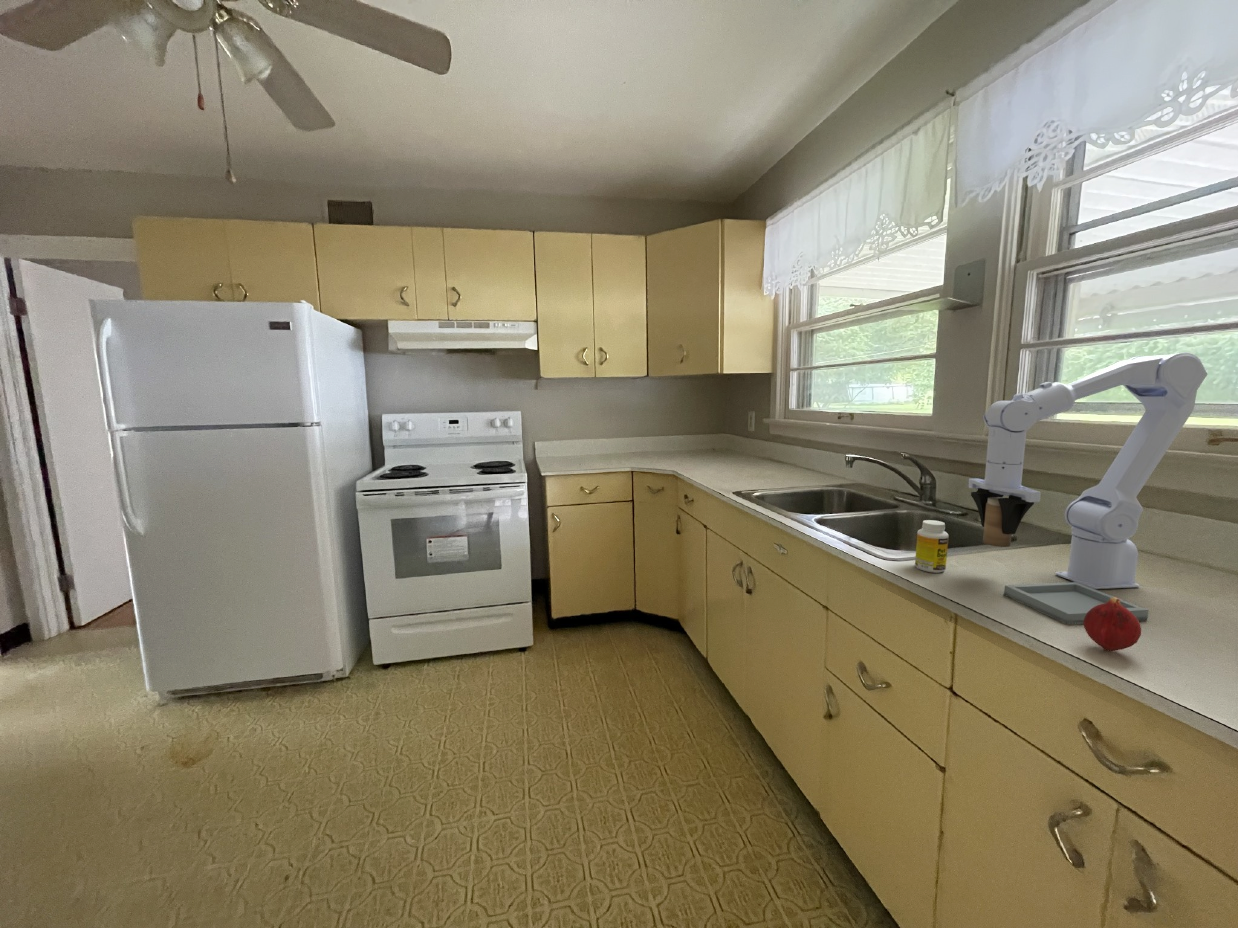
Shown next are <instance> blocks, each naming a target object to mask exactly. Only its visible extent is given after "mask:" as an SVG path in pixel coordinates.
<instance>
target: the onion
mask: <svg viewBox="0 0 1238 928" xmlns="http://www.w3.org/2000/svg"><path fill="white" fill-rule="evenodd" d="M1118 598H1119V597H1116V596H1113V598H1110V601H1109V602H1107V603H1105V604H1100V605H1097V606H1095V607H1093V608H1092V609H1091V610H1089V611H1088V612H1087V614H1086V615H1085V618H1084V621H1083V622H1084V624H1083V628H1084V630H1085V632H1086V633H1087V636H1088V637H1089V638H1090V639H1091V640H1092V641H1093V643H1096V645H1097V646H1099V647H1101V648H1102V649H1103V650H1104V651H1107V652H1115V651H1120V650H1124V649H1128V648H1131V647H1132V646H1134V645H1135V644H1137V643H1138V641H1139V640H1140V638H1141V635H1142V628H1141V627H1142V626H1141V623H1140V622H1139V621H1138V620H1137V618H1136V617H1135V616H1134V615H1133V614H1132V613H1131V612H1130V611H1129V610H1128V609H1126V608H1125V607H1123V606H1122V605H1121V604H1120V600H1119V599H1120V598H1119V599H1118Z"/></svg>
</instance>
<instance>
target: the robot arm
mask: <svg viewBox="0 0 1238 928" xmlns="http://www.w3.org/2000/svg"><path fill="white" fill-rule="evenodd" d="M1207 376H1208V373H1207V370H1206V369H1205V366H1204V364H1203V362H1202V361H1201V359H1200V358H1199V357H1198V356H1197V355H1196V354H1193V353H1190V352H1177V353H1173V354H1161V355H1160V354H1159V355H1147V356H1145V355H1140V356H1134V357H1131V358H1129V359H1125V360H1124V359H1123V360H1121V361H1118V362H1115V363H1113V364H1111V365H1110V366H1106V367H1105V368H1102V369H1099V370H1098V371H1095V372H1093V373H1091V374H1087V375H1086V376H1083V377H1081V378H1079V379H1076V380H1074V381H1072V382H1070V383H1067V384H1065V383H1062V382H1058V381H1055V382H1051V381H1045V382H1043V383H1039V387H1038V388H1036V389H1033V390H1030V391H1028V392H1025V393H1016V394H1014V395H1013V396H1012V397H1013V398H1012V399H1011V400H997V401H995V402H994V403H992V404H991V405H990V406H989V407H988V408H987V410H986V412H985V414H982V420H983V423H984V424H985V425H986V426H987V429H988V431H987V432H988V433H987V434H988V439H987V448H986V462H985V472H984V479H982V478H976V477H975V478H969V479H968V488H969V489H976V491H971V492H970V497H971V498H972V500H973V501H974V503H975V505H976V508H977V511H978V515H979V519H980V524H981V527H982V528H984V522H985V511H986V503H987V502H988V498H989V497H1000V498H998V501H999V504H1000V507H1001V512H1002V533H1003V534H1012V535H1015V534H1016V532H1017V530H1018V527H1019V525H1020V524H1021V522H1022V520H1023V518H1024V517H1025V515H1026V514H1027V512H1028V511H1029V510H1030V508H1032V507H1033V505H1034V504H1035V503H1040V502H1041V495H1042V494H1041V493H1042V492H1041V491H1039V490H1036V489H1032V488H1029V487H1026V486H1024V485H1022V481H1023V470H1024V460H1025V452H1026V451H1025V450H1026V443H1027V442H1026V440H1027V431H1028V430H1029V429H1031V428H1033V426H1034V424H1035V423H1037V422H1039V421H1041V420H1045V419H1047V418H1051V417H1052V416H1055V415H1057V414H1061V413H1063V412H1066V411H1069V410H1071V409H1072V408H1073V406H1074V405H1075V402H1076V401H1077V400H1080V399H1084V398H1087V397H1089V396H1090V397H1091V396H1092V395H1095V394H1099V393H1101V392H1105V391H1107V390H1110V389H1111V390H1112V389H1114V388H1117V387H1121V386H1123V387H1124V388H1125V389H1127V391H1128V392H1129V393H1130V394H1131V395H1133V396H1134V398H1136V399H1137V400H1138V401H1139V402H1140V403H1141V404H1142V406H1143V407H1144V409H1145V412H1144V413H1143V414H1142V416H1141V417H1140V420H1139V421H1138V422H1137V424H1136V425H1135V427H1134V428H1133V430H1132V432H1131V433H1130V435H1129V436H1128V437H1127V439H1126V441H1125V443H1124V444H1123V446H1122V447H1121V449H1120V450H1119V452H1118V453H1117V455H1116V457H1115V458H1114V460H1113V461H1112V463H1111V465H1110V466H1109V467H1108V469H1107V471H1106V473H1105V474H1104V475H1103V477H1102V479H1101V480H1100V481H1099V482H1098V484H1097V485H1095V486H1091V487H1090V488H1087V489H1085V490H1083V491H1082V492H1081V494H1080V496H1079V497H1078V498H1076V499H1075V500H1073V501H1071V502H1070V503H1069V504H1068V505H1067V507H1066V508H1065V511H1064V519H1065V521H1066V523H1067V524H1068V525H1069V526H1070V532H1071V541H1070V550H1069V556H1068V557H1069V558H1068V566H1067V571H1055V572H1054V575H1056V576H1059V577H1060V578H1064V579H1066V580H1069V581H1071V582H1077V583H1079V584H1082V585H1084V586H1087V587H1090V588H1092V589H1095V590H1102V589H1103V590H1104V589H1105V590H1106V589H1121V588H1123V589H1125V588H1127V589H1128V588H1139V587H1140V584H1139V583H1136V582H1135V581H1136V575H1137V574H1136V573H1137V567H1138V566H1137V565H1138V559H1139V553H1138V552H1139V551H1138V547H1137V546H1136V545H1135V543H1134V542H1133V541H1132V540H1131V538H1132V537H1133V536H1134V535H1135V534H1136V532H1137V531H1138V528H1139V520H1140V516H1141V515H1142V513H1143V512H1144V508H1143V506H1142V505H1141V503H1140V502H1139V500H1138V498H1137V497H1138V495H1139V493H1140V492H1141V490H1142V489H1143V487H1144V486H1145V485H1146V483H1147V482H1148V480H1149V479H1150V477H1151V476H1152V473H1153V472H1154V470H1155V469H1156V467H1157V466H1158V464H1159V463H1160V462H1161V461H1162V459H1163V457H1164V455H1165V454H1166V453H1167V451H1168V449H1169V448H1170V446H1171V445H1172V443H1173V442H1174V441H1175V439H1176V437H1177V436H1178V434H1179V433H1180V431H1181V430H1182V429H1183V427H1184V425H1185V424H1186V422H1187V421H1188V419H1189V417H1190V416H1191V415H1192V413H1193V411H1194V409H1195V404H1196V400H1197V399H1196V398H1197V394H1198V390H1199V388H1200V387H1201V385H1202V383H1203V382H1204V381H1205V379H1206V378H1207ZM1004 496H1006V497H1004ZM1034 506H1035V505H1034Z"/></svg>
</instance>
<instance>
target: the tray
mask: <svg viewBox="0 0 1238 928" xmlns="http://www.w3.org/2000/svg"><path fill="white" fill-rule="evenodd" d="M1003 595H1004V596H1006V597H1008V598H1010V599H1012V600H1014V601H1016V602H1018V603H1020V604H1022V605H1025V606H1027V607H1029V608H1032V609H1034V610H1036V611H1037V612H1039V613H1042V614H1044V615H1046V616H1048V617H1050V618H1052V619H1055V620H1056V621H1059V622H1061V623H1063V624H1065V625H1084V622H1083V621H1084V618H1085V615H1086V614H1087V612H1088V611H1089V610H1091V609H1092V608H1093V607H1095V606H1097V605H1100V604H1105V603H1107V602H1109V601H1110V598H1113V597H1114V596H1113V595H1111V594H1108V593H1105V592H1103V591H1100V590H1099V589H1093V588H1090V587H1087V586H1084V585H1082V584H1079V583H1077V582H1074V581H1071V582H1047V583H1046V582H1045V583H1026V584H1024V583H1022V584H1005V585H1004V589H1003ZM1117 598H1118V599H1119V600H1120V604H1121V605H1122V606H1123V607H1125V608H1126V609H1128V610H1129V611H1130V612H1131V613H1132V614H1133V615H1134V616H1135V617H1136V618H1137V620H1138V621H1140V622H1141V621H1142V622H1143V621H1148V618H1149V612H1150V611H1149V609H1147V608H1145V607H1142V606H1140V605H1137V604H1134V603H1132V602H1129V601H1126V600H1124V599H1121V598H1119V597H1117Z"/></svg>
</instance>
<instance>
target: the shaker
mask: <svg viewBox="0 0 1238 928" xmlns="http://www.w3.org/2000/svg"><path fill="white" fill-rule="evenodd" d="M998 498H1000V497H989V498H988V502H987V503H986V511H985V522H984V527H983V535H982V536H983V537H982V543H984V544H985V545H988V546H992V547H999V548H1003V547H1004V548H1009V547H1011V545H1012V535H1013V534H1003V533H1002V512H1001V507H1000V504H999V501H998Z"/></svg>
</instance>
